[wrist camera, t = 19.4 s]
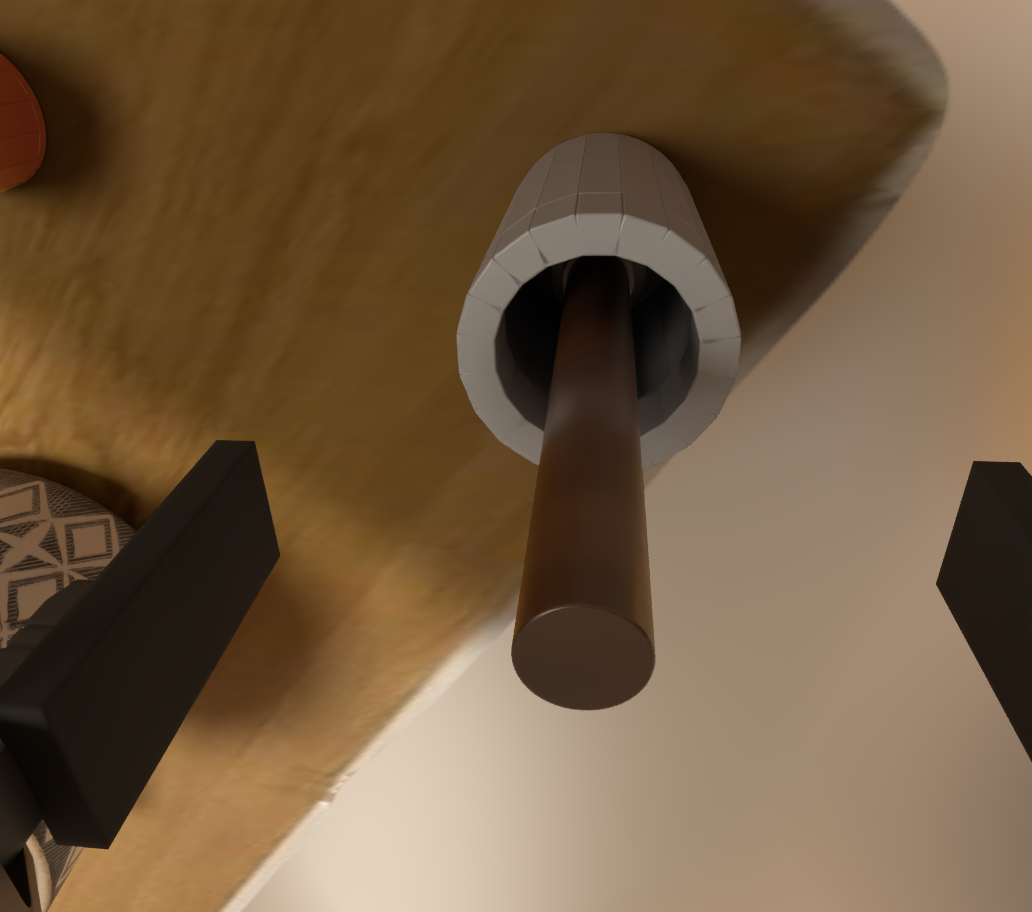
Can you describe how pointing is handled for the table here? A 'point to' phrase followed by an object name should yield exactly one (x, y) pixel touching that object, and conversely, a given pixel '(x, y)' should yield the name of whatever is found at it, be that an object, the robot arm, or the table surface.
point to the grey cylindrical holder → (655, 317)
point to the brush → (589, 504)
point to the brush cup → (19, 128)
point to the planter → (49, 592)
